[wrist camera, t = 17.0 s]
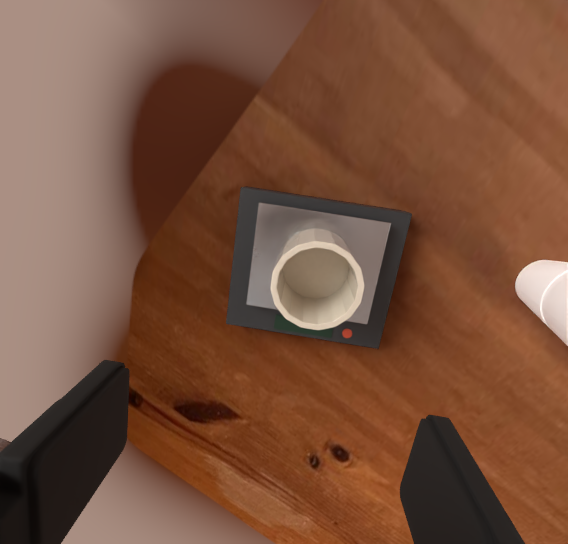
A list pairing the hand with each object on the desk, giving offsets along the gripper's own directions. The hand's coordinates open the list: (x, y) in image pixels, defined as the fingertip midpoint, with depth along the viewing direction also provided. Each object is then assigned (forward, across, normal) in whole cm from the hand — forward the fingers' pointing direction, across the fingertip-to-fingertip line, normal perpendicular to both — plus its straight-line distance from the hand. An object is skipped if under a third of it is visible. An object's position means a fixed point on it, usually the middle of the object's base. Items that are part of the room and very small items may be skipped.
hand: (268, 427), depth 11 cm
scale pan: (+23, -2, 0) cm, 23 cm away
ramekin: (+22, -2, 0) cm, 23 cm away
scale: (+26, -2, +1) cm, 26 cm away
